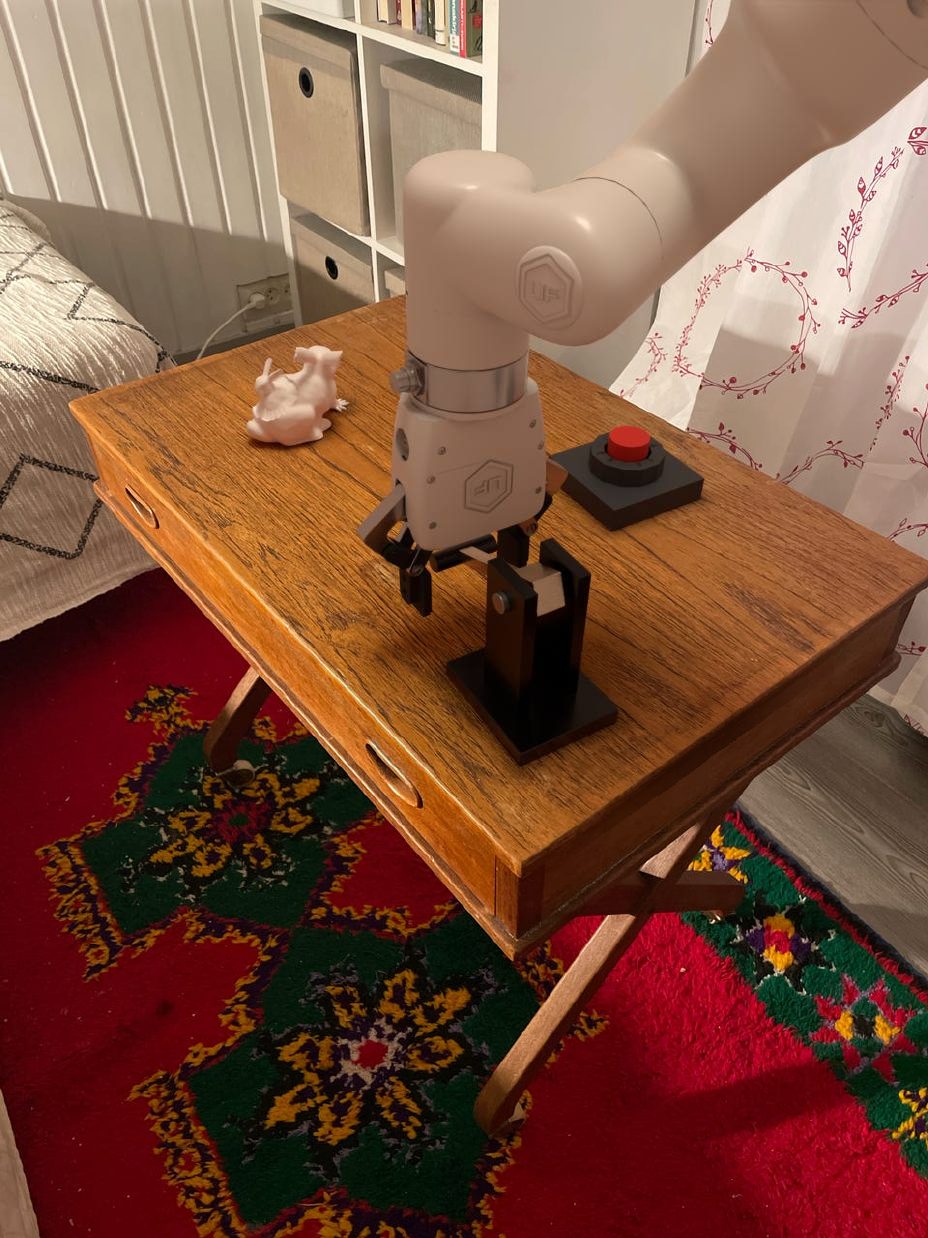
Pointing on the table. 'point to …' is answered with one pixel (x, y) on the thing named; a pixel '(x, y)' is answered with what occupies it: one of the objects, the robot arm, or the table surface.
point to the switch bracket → (533, 662)
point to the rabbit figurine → (297, 398)
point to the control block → (627, 482)
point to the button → (628, 444)
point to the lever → (534, 574)
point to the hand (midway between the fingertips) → (465, 586)
